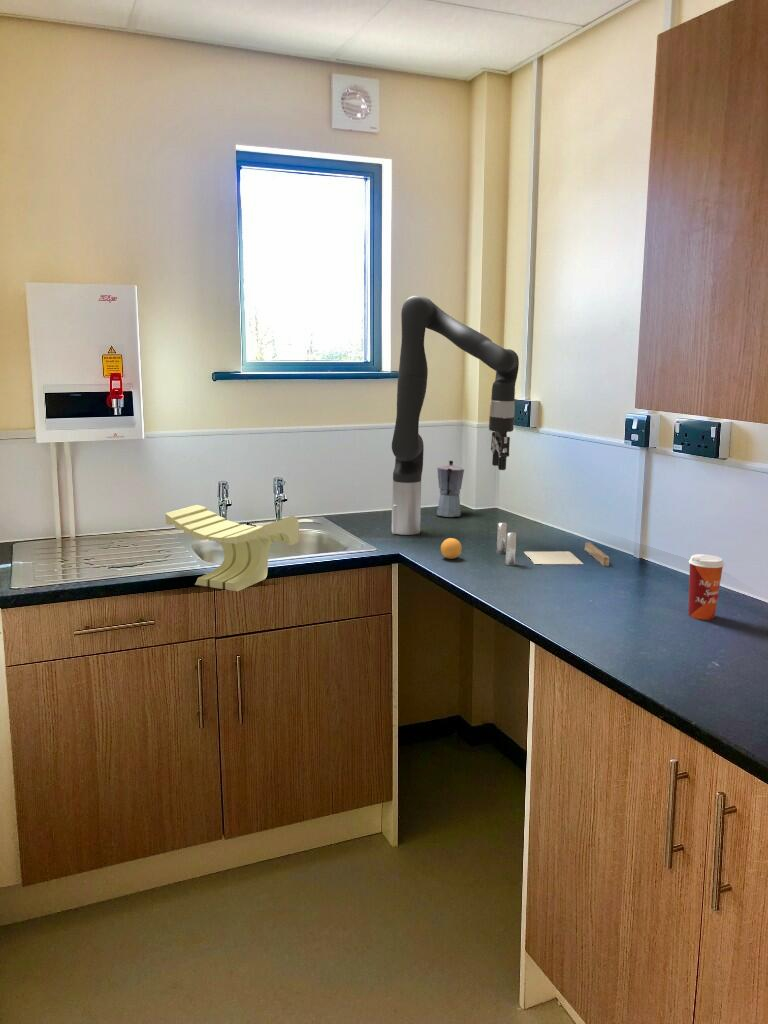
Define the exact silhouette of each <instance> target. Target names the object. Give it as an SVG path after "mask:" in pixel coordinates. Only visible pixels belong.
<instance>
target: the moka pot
mask: <svg viewBox="0 0 768 1024" xmlns="http://www.w3.org/2000/svg"><path fill="white" fill-rule="evenodd" d="M448 463H449V464H448V465H444V466H437V479H438V489H439V499H438V505H437V511H436V516H439V517H444V518H445V517H446V518H457V517H461V514H462V513H461V502H460V501H461V500H460V491H461V489H462V485H463V484H462V483H463V479H464V473H465V469H464V468H462V467H459V466H456V465H454V464H453V463H454V461H453V460H448Z"/></svg>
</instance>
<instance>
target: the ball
mask: <svg viewBox="0 0 768 1024" xmlns="http://www.w3.org/2000/svg"><path fill="white" fill-rule="evenodd" d="M462 551H463V550H462V544H461V542H460V541H459V540H458V539H456V538H453V537H449V538H446V539H445V540H443V542H442V543H441V545H440V552H441V554H442V556H443V557H444V558H446V559H448V560H449V559H450V560H453V559H456V558H458V557H459V556H461V553H462Z"/></svg>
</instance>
